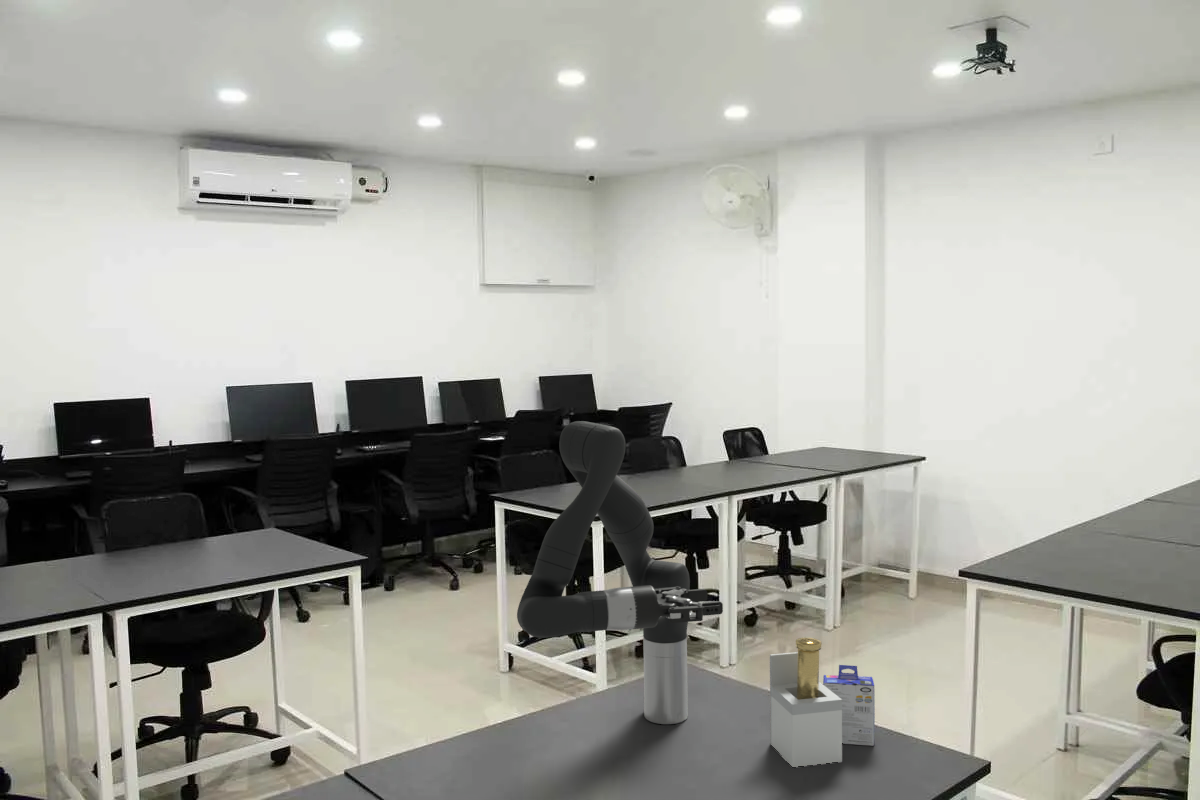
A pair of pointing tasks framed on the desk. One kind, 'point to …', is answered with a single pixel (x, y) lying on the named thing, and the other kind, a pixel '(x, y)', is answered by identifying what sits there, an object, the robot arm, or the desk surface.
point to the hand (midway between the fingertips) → (714, 600)
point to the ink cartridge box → (854, 705)
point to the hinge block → (802, 717)
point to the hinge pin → (808, 668)
